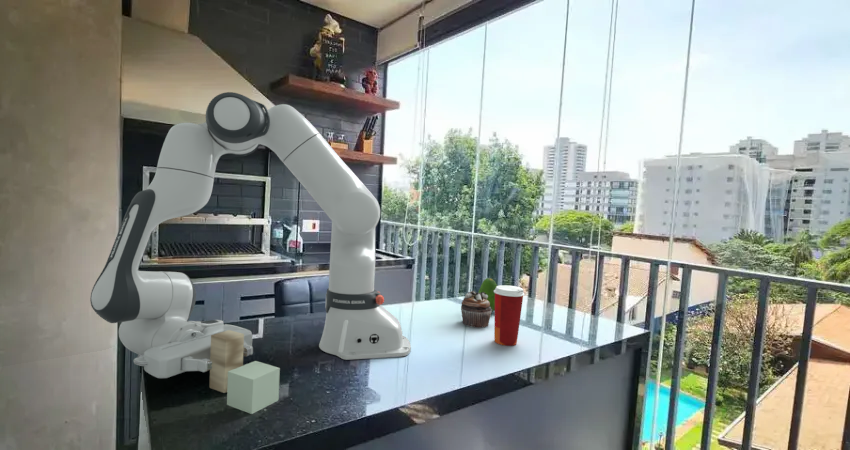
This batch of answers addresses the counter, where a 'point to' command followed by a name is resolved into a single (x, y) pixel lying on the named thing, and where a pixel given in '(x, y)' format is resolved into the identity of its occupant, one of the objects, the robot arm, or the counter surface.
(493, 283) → the avocado
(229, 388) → the sage block
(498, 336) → the coffee cup
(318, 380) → the counter surface
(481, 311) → the cupcake
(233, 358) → the maple pillar
